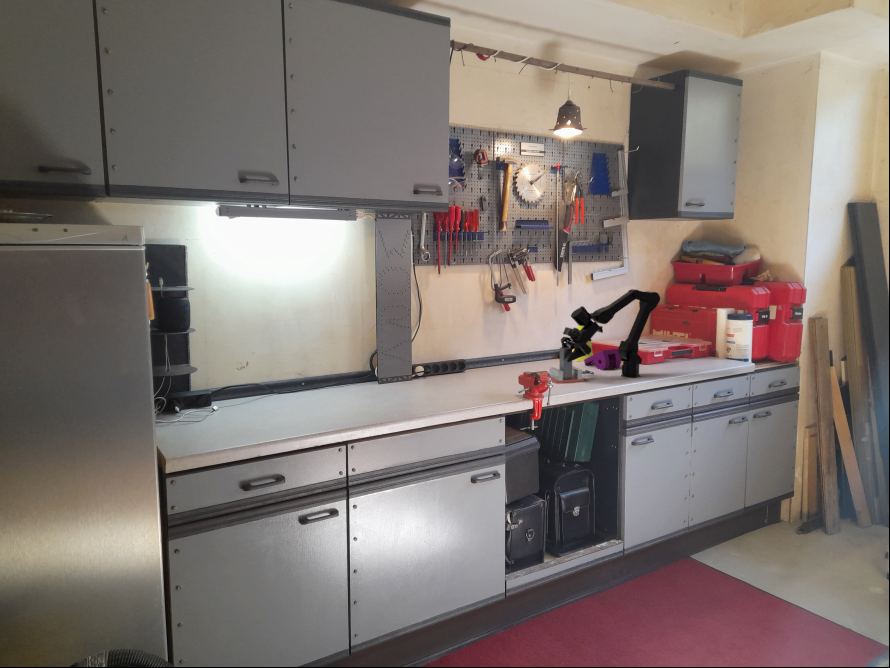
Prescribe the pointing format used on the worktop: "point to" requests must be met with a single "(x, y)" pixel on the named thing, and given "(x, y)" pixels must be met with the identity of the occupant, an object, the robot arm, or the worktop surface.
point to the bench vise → (576, 377)
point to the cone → (588, 345)
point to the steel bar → (565, 362)
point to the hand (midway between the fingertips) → (562, 359)
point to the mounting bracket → (605, 359)
